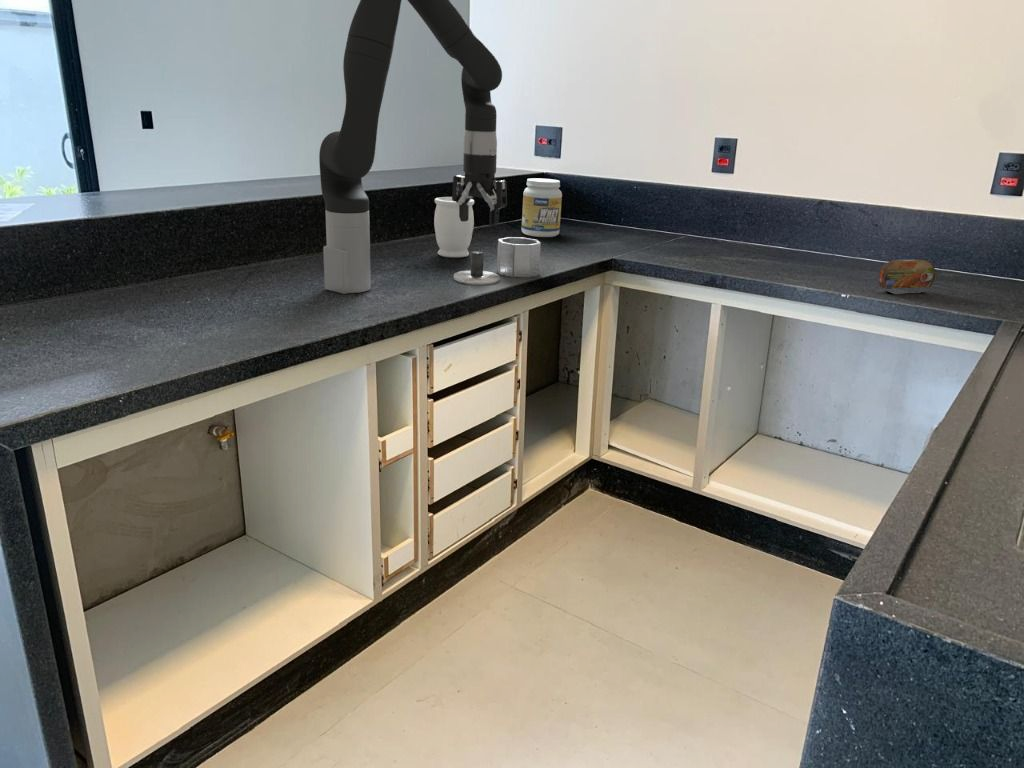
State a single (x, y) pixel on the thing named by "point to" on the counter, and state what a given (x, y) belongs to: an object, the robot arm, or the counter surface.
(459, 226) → the jar
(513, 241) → the pot
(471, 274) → the lid
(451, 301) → the counter surface
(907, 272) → the tin
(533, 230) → the supplement tub
